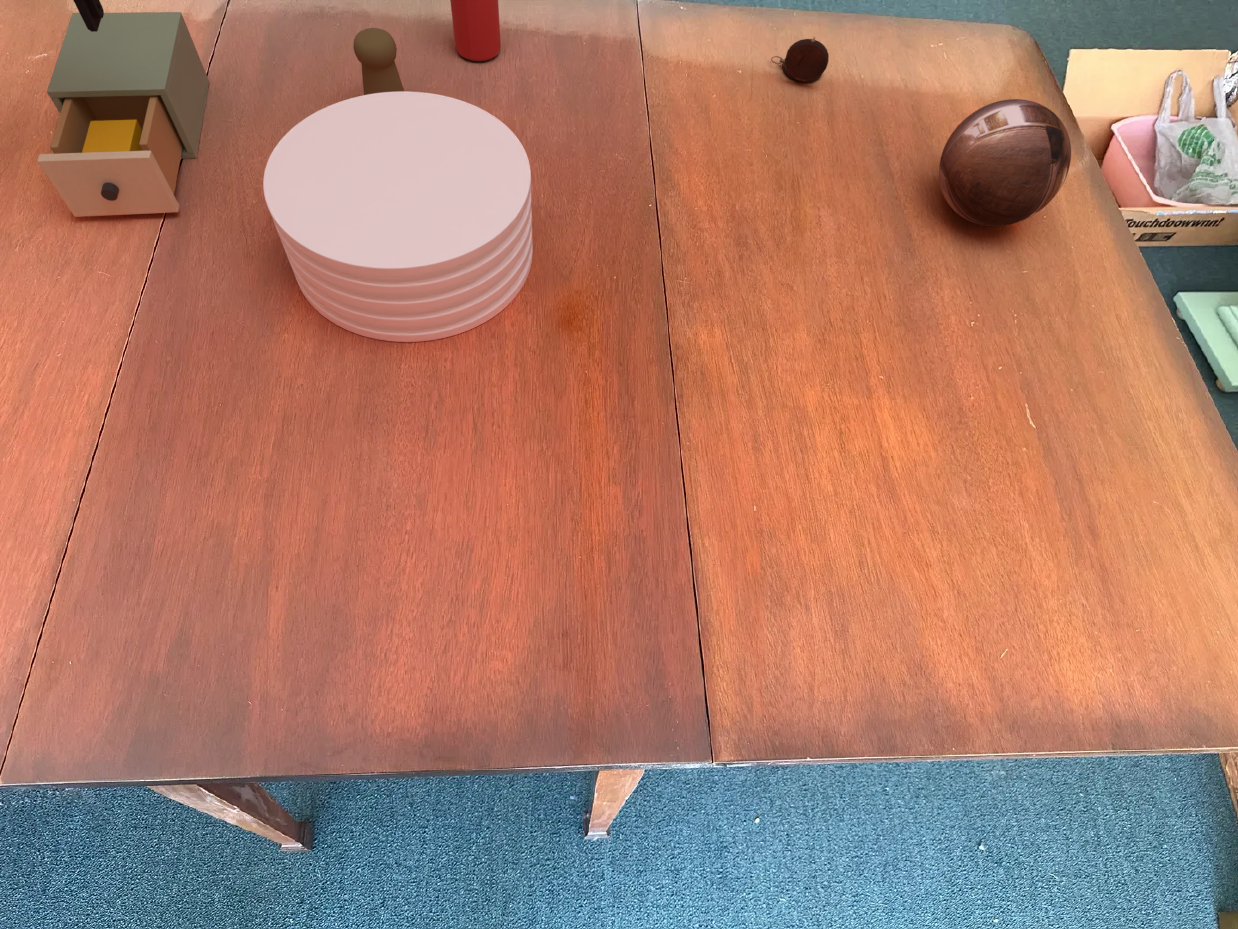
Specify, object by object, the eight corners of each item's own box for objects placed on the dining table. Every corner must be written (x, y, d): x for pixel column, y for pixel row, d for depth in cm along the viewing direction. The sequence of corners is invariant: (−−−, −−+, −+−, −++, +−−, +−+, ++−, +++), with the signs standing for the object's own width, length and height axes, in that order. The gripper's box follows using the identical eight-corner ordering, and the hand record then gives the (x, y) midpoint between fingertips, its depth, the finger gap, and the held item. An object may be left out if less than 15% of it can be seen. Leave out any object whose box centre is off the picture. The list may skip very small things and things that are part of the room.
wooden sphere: (900, 182, 107) (948, 80, 94) (992, 166, 110) (1051, 66, 97) (955, 259, 100) (1016, 162, 87) (1052, 240, 103) (1123, 143, 90)
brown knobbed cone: (376, 132, 104) (358, 54, 94) (358, 106, 106) (339, 27, 96) (418, 120, 106) (405, 41, 96) (399, 94, 108) (385, 15, 98)
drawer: (177, 219, 92) (147, 164, 85) (72, 224, 90) (34, 168, 84) (192, 132, 100) (166, 76, 93) (96, 135, 98) (62, 78, 91)
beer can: (464, 67, 112) (455, -20, 102) (449, 41, 115) (439, -46, 105) (507, 59, 114) (503, -27, 104) (492, 33, 117) (486, -53, 106)
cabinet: (196, 158, 99) (164, 88, 90) (89, 162, 97) (46, 91, 88) (209, 82, 106) (181, 11, 98) (110, 84, 104) (72, 12, 96)
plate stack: (294, 355, 84) (260, 281, 75) (293, 181, 98) (264, 98, 88) (549, 327, 89) (549, 253, 79) (515, 164, 103) (511, 84, 93)
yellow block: (102, 191, 92) (80, 156, 87) (111, 156, 95) (90, 120, 90) (148, 189, 92) (128, 154, 88) (155, 155, 95) (136, 119, 91)
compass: (823, 63, 120) (838, 15, 113) (818, 93, 116) (833, 46, 109) (772, 52, 120) (784, 4, 114) (765, 82, 116) (778, 34, 110)
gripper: (56, -200, 67) (142, 3, 81) (-175, -210, 64) (-43, 1, 79) (37, -159, 63) (131, 45, 78) (-209, -168, 60) (-63, 45, 75)
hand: (43, 23), depth 78 cm, fingers open, 9 cm apart
